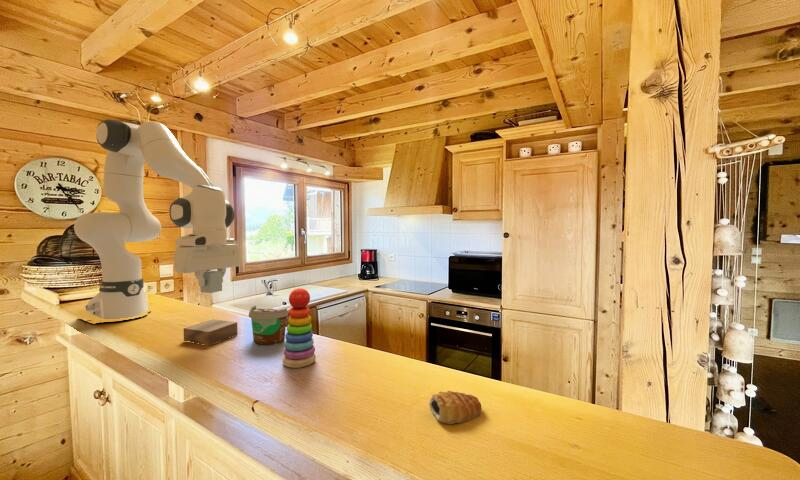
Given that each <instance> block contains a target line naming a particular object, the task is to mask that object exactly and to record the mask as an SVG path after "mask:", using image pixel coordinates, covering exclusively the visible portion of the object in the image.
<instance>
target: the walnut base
mask: <svg viewBox="0 0 800 480" xmlns="http://www.w3.org/2000/svg"><path fill="white" fill-rule="evenodd" d="M235 335H236V336H238V322H237V321H236V322H235V321H231V320H220V319H214V318H213V319H209V320H206V321H202V322H200V323H197V324H194V325H190V326H187V327H184V328H183V342H184V341H190V342H194V343H193V344H195V343H199V344H198V345H201V344H204V345H203V346H207V345H209V347H210V346H212V344H213V345H215V344H214V343H216V344H217V342H218V343H220V342H219V341H221V342H223V341H225V340H224V339H226V340H228V339H230V338H229V337H231V338H233V337H232V336H234V337H236V336H235ZM227 338H228V339H227ZM222 340H223V341H222Z"/></svg>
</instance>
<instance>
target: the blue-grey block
mask: <svg viewBox="0 0 800 480" xmlns="http://www.w3.org/2000/svg"><path fill="white" fill-rule="evenodd" d="M203 277H204V279H205V280H207V286H199V287H200V290H199V291H200V293H204V294H205V293H206V294H212V293H213V294H214V293H218V292H222V291H223V283H222V271H217V270H207V271H204V275H203Z"/></svg>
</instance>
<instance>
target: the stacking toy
mask: <svg viewBox="0 0 800 480" xmlns="http://www.w3.org/2000/svg"><path fill="white" fill-rule="evenodd" d="M310 301H311V295H310V293H309V291H308V290H307V289H305V288H300V287H299V288H295V289H293V290H292V291H291V292H290V294H289V295H288V303H289V305H290V306H291V307H290V309H288V319H287V320H288V325H286V331H287V332H285V340H284V345H283V346H284V350H283V357H282V363H283V365H284V366H286V367H288V368H291V369H299V368H304V367H308V366H310V365H312V363H314V362H315V360H316V358H317V357H316V356H317V355H316V353H315V351H316V347H315V345H314V339H313V336H314V334H313V331H312V329H313V325H312V322H311V321H312V316H311V315H309V314H310V313H311V310H310V307H308V305H309V303H310Z"/></svg>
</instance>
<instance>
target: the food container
mask: <svg viewBox="0 0 800 480" xmlns="http://www.w3.org/2000/svg"><path fill="white" fill-rule="evenodd" d="M287 317H289V310H288V308H287V307H286V308H284V309H279V310H278V309H274V308H257V305H254V306H252V307H250V309H249V312H248V318H251V328H252V338H253V344H255V345H256V346H260V347H261V346H262V347H264V346H266V347H267V346H276V345H279V344H282V343H285V341H286V338H285V336H286V329H287Z"/></svg>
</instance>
